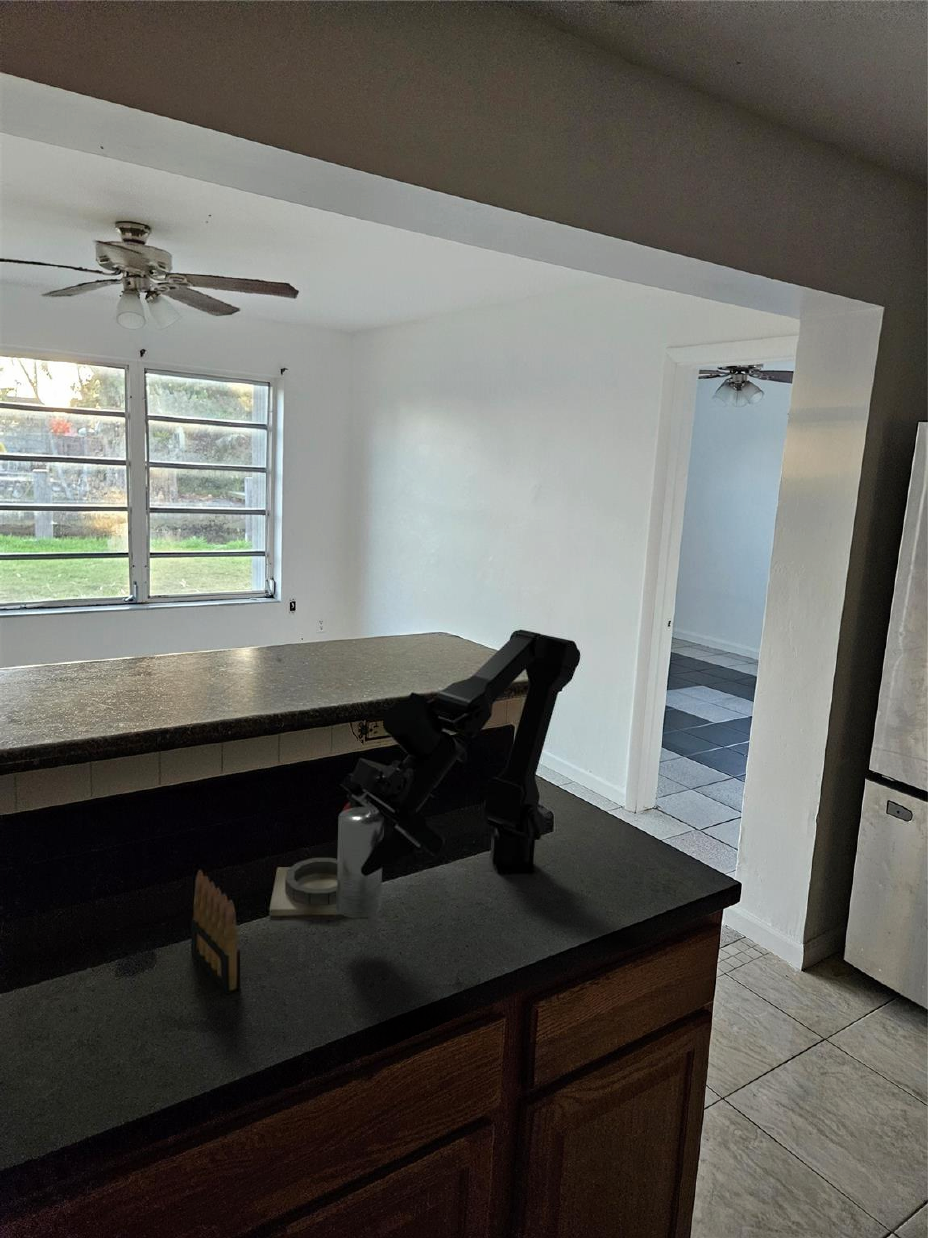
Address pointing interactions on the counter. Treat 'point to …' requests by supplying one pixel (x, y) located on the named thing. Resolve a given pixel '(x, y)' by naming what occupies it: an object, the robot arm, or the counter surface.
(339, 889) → the steel peg
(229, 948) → the ammunition clip
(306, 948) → the counter surface
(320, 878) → the socket plate
